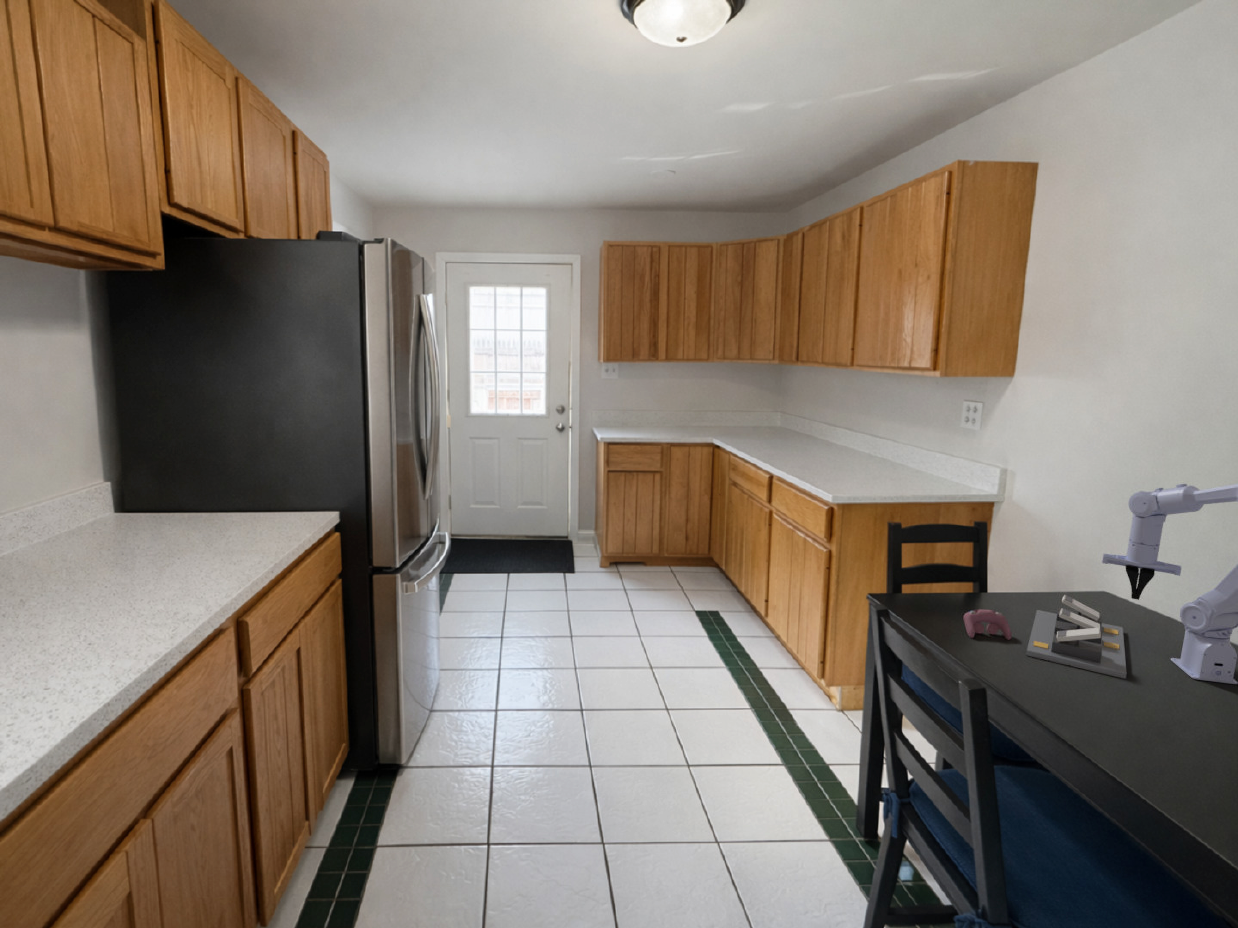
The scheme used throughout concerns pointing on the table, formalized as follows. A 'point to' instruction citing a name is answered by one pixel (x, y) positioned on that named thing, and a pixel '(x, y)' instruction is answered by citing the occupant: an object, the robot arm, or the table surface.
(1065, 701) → the table surface
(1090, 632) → the rocker near
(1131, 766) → the table surface
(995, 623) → the video game controller
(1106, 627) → the switch board
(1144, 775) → the table surface
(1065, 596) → the rocker far
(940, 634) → the table surface
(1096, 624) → the rocker middle
